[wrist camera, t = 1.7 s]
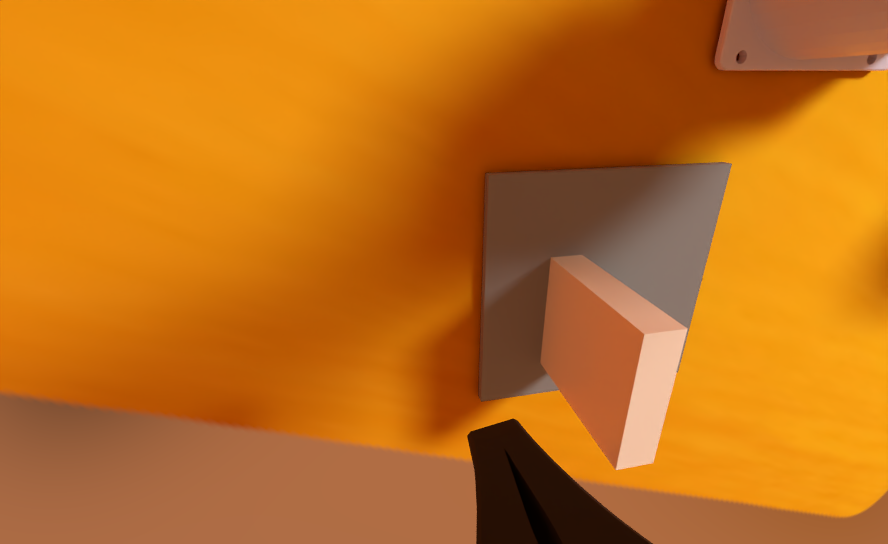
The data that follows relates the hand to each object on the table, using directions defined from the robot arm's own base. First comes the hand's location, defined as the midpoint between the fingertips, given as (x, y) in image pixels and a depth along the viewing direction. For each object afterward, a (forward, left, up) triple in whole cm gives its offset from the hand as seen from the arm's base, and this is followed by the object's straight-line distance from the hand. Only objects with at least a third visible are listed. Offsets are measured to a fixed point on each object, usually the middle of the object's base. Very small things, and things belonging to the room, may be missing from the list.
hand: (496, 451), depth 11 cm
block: (-6, +1, -9) cm, 11 cm away
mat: (-8, 0, -10) cm, 13 cm away
